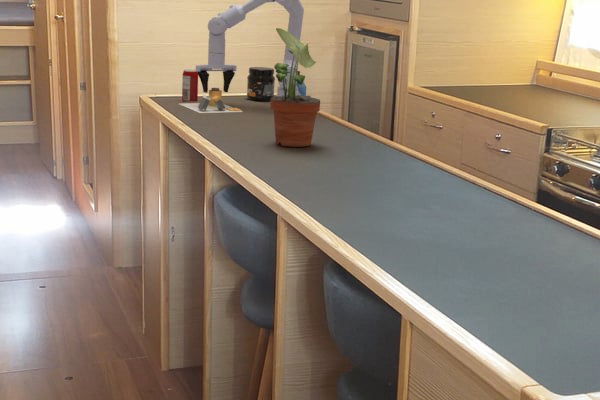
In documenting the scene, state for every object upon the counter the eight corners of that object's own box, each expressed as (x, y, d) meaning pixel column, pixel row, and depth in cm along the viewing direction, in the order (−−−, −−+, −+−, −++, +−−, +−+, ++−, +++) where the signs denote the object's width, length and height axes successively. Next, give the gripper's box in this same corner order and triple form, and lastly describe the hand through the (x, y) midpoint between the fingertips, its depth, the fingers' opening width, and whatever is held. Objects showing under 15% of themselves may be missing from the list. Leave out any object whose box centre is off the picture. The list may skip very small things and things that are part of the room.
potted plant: (257, 146, 252) (263, 20, 243) (279, 138, 265) (285, 18, 257) (308, 153, 246) (316, 24, 237) (328, 144, 260) (336, 23, 251)
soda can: (198, 102, 325) (199, 69, 322) (195, 104, 320) (196, 70, 317) (183, 101, 326) (184, 68, 323) (180, 103, 320) (181, 69, 317)
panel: (243, 115, 302) (243, 110, 302) (199, 116, 295) (199, 111, 294) (219, 106, 319) (220, 101, 319) (177, 107, 311) (178, 102, 311)
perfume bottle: (283, 102, 335) (284, 71, 332) (291, 101, 341) (292, 69, 338) (297, 104, 333) (299, 72, 330) (305, 103, 338) (307, 71, 335)
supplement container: (242, 97, 342) (243, 66, 339) (267, 97, 347) (268, 66, 344) (253, 102, 333) (254, 70, 330) (278, 101, 338) (280, 70, 334)
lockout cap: (223, 106, 310) (223, 89, 308) (211, 106, 308) (212, 89, 306) (218, 104, 313) (218, 87, 312) (206, 104, 311) (207, 87, 310)
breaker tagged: (226, 109, 301) (219, 96, 299) (222, 112, 301) (215, 99, 298) (222, 107, 304) (215, 95, 302) (218, 110, 304) (211, 97, 301)
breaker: (205, 112, 298) (211, 98, 297) (201, 110, 297) (207, 96, 296) (201, 110, 301) (207, 96, 300) (196, 108, 300) (203, 94, 300)
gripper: (231, 51, 313) (229, 90, 316) (192, 51, 306) (191, 90, 309) (239, 53, 307) (238, 92, 310) (200, 53, 300) (199, 93, 303)
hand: (215, 92), depth 309 cm, fingers open, 7 cm apart
